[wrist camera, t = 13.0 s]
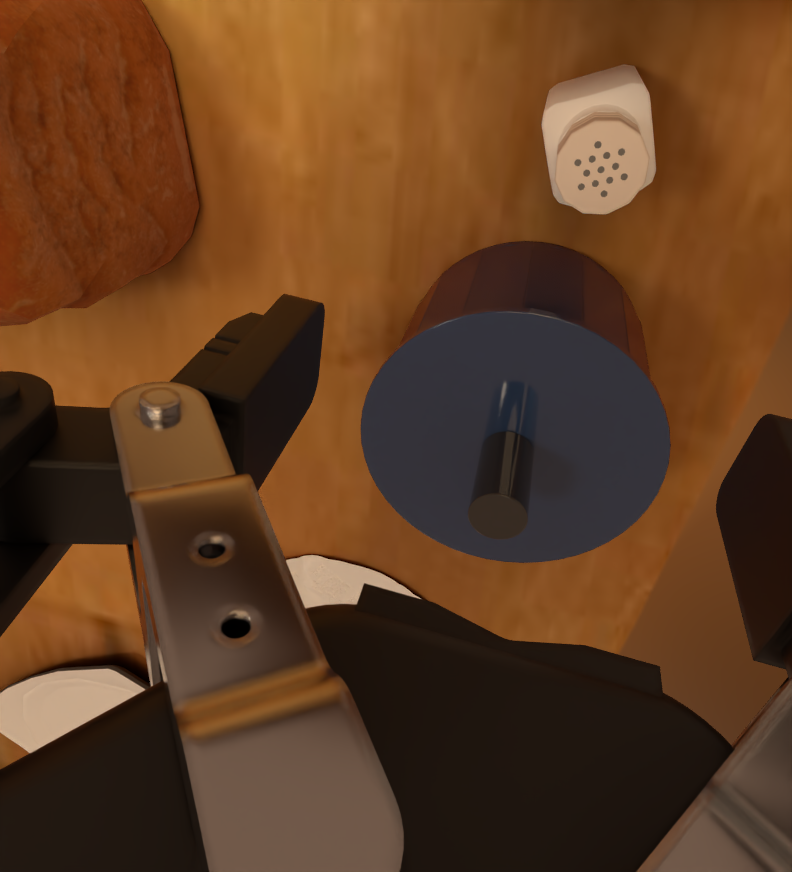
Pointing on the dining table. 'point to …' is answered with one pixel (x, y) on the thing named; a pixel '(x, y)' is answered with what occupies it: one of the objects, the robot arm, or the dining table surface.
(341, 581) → the plaque
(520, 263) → the pot
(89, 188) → the bread
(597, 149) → the salt shaker
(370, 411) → the pot lid
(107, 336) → the dining table surface
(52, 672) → the plate
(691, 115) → the dining table surface
